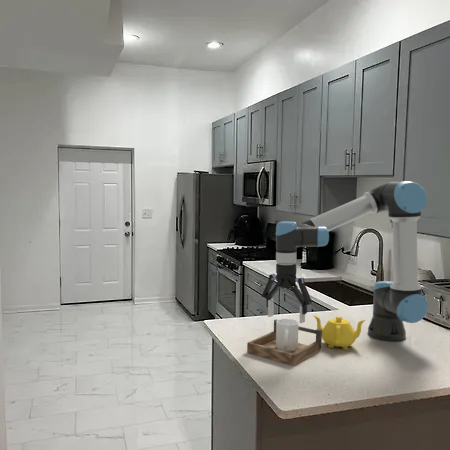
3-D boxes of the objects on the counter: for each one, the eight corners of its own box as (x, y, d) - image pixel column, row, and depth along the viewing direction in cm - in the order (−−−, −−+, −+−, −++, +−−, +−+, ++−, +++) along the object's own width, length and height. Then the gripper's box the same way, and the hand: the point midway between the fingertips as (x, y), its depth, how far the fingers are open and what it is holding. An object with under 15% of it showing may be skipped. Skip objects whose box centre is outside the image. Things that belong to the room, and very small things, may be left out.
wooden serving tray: (321, 350, 175) (321, 329, 174) (294, 366, 159) (295, 343, 158) (275, 339, 188) (276, 319, 187) (246, 352, 172) (247, 331, 171)
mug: (296, 356, 166) (297, 328, 165) (273, 354, 168) (274, 327, 167) (298, 345, 178) (298, 319, 177) (276, 343, 179) (277, 317, 179)
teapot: (310, 349, 176) (311, 320, 175) (313, 337, 190) (314, 310, 189) (364, 355, 170) (366, 325, 169) (364, 342, 184) (365, 314, 183)
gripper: (321, 265, 166) (321, 322, 167) (263, 258, 181) (263, 311, 183) (311, 268, 160) (311, 327, 162) (252, 261, 175) (253, 315, 177)
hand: (286, 319), depth 172 cm, fingers open, 13 cm apart
